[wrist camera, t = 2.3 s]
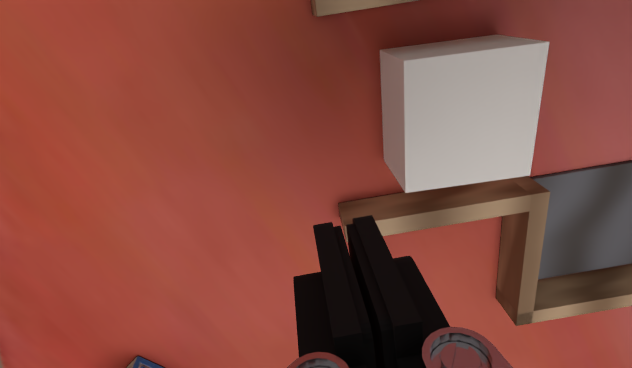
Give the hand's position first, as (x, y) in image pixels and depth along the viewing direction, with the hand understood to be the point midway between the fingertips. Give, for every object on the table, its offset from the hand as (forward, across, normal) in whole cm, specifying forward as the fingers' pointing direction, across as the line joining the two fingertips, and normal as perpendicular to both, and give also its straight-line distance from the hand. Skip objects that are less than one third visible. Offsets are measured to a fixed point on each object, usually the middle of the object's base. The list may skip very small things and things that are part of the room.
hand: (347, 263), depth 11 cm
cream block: (+14, -8, 0) cm, 16 cm away
